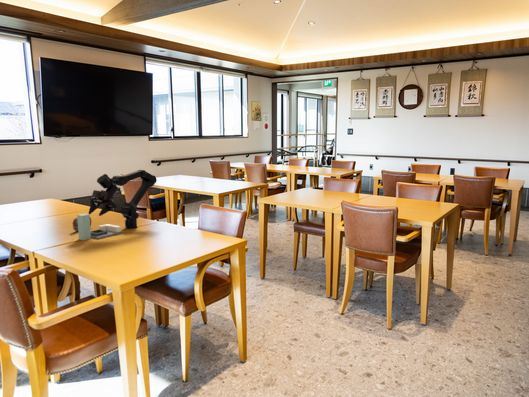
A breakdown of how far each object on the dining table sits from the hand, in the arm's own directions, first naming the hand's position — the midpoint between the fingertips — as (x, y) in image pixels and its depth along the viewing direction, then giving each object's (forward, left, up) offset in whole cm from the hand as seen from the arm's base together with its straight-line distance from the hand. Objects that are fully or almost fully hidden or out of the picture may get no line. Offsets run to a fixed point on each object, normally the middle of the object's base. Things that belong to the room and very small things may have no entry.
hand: (94, 214), depth 229 cm
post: (+6, +3, -13) cm, 14 cm away
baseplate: (-5, -3, -13) cm, 14 cm away
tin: (+5, -21, -13) cm, 25 cm away
